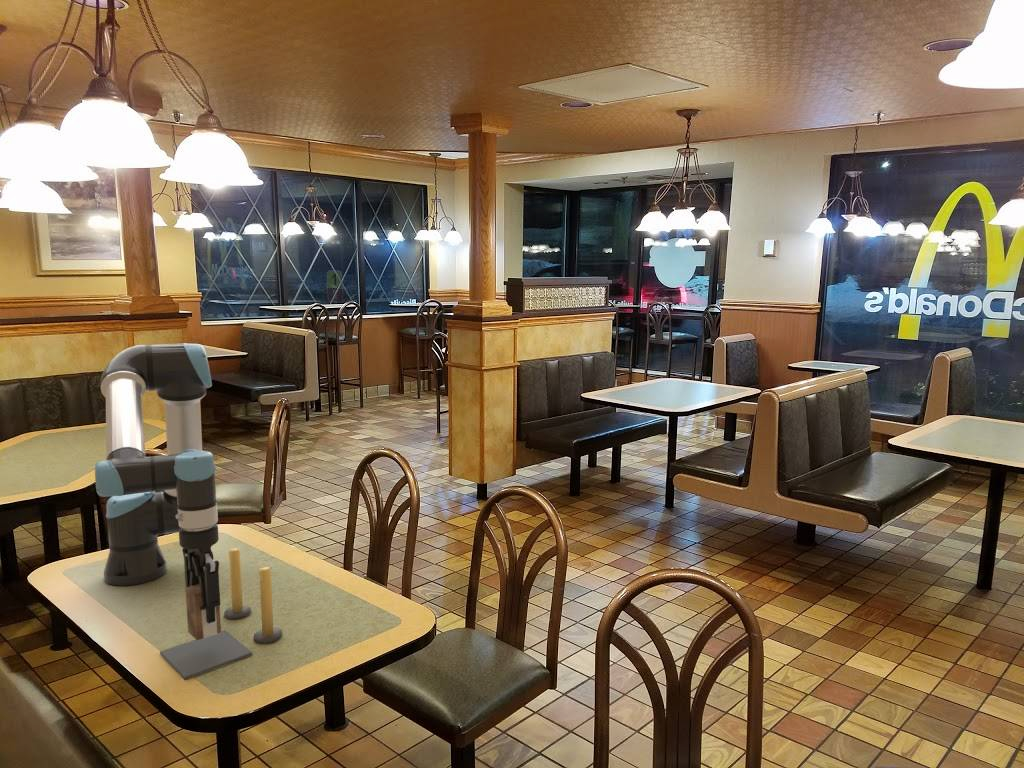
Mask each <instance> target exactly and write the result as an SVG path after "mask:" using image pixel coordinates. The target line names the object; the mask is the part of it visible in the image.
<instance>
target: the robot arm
mask: <svg viewBox="0 0 1024 768" xmlns="http://www.w3.org/2000/svg"><path fill="white" fill-rule="evenodd" d="M208 361H209V360H208V356H207V351H206V349H205V347H204V346H203V345H202V344H199V343H186V342H183V343H168V344H167V343H165V344H161V343H160V344H139V345H134V346H130V347H128V348H126V349H124V350H122V351H120V352H119V353H117V354H116V355H115V356H114V357H113V358H112V359H111V360H110V361H109V362H108V364H107V365H106V367H105V368H104V370H103V372H102V374H101V379H100V392H101V394H102V395H103V397H104V398H105V430H106V431H105V445H106V446H105V447H106V448H105V451H106V455H105V456H106V458H105V460H102V461H98V462H97V463H96V464H95V467H94V479H95V480H94V481H95V489H96V493H97V495H98V496H99V497H105V498H106V497H110V498H108V500H107V502H106V514H105V517H106V519H107V520H106V521H107V533H108V535H107V536H108V545H109V546H108V547H109V548H108V549H109V552H108V556H107V558H106V563H105V567H104V570H103V580H104V582H105V583H106V584H108V585H112V586H118V587H119V586H121V587H122V586H133V585H138V584H139V585H140V584H144V583H147V582H151V581H154V580H156V579H159V578H160V577H162V576H163V575H165V573H167V569H168V567H167V566H168V565H167V560H166V559H165V556H164V554H163V552H162V550H161V547H160V545H159V541H158V536H159V535H167V534H168V535H169V534H174V533H178V538H179V539H178V540H179V546H180V547H181V548H182V550H181V552H182V555H183V563H184V565H183V566H184V581H185V584H184V585H185V587H189V586H192V585H196V584H199V583H200V589H201V596H202V602H203V606H202V607H199V608H200V610H201V614H202V630H203V638H207V637H210V636H213V635H216V634H217V620H216V606H219V605H220V606H221V595H220V594H221V593H220V592H221V591H220V578H219V577H220V575H219V569H220V562H219V560H214V554H213V551H212V546H214V545H216V544H217V543H218V542H219V525H218V524H217V523H218V521H219V518H218V517H219V516H218V503H217V495H216V492H217V491H216V490H217V489H216V465H215V460H214V459H215V458H214V455H213V453H212V452H210V451H207V450H203V438H202V437H203V436H202V415H201V414H202V413H201V412H202V411H201V401H202V399H203V398H204V397H205V396H206V395H207V389H209V388H211V387H212V386H213V382H212V376H211V371H210V365H209V362H208ZM147 391H149V392H151V391H156V392H157V393H156V395H157V397H158V399H159V400H161V401H162V402H164V417H165V419H164V420H165V433H166V452H167V454H163V455H155V456H153V455H152V456H146V444H145V442H146V440H145V428H144V410H143V395H144V394H145V393H146V392H147Z"/></svg>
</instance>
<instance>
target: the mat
mask: <svg viewBox="0 0 1024 768" xmlns="http://www.w3.org/2000/svg"><path fill="white" fill-rule="evenodd" d="M159 653H160V656H161V657H163V659H164V660H165V661H166V662H167V663H168V664H169V665H170V666H171V667H172V668H173V670H175V671H176V673H178V675H179V676H181V678H182V679H183V680H184V681H185V680H188V679H190V678H193V677H196V676H199V675H202V674H205V673H207V672H210V671H212V670H215V669H218V668H220V667H223V666H225V665H229V664H231V663H234V662H237V661H240V660H242V659H245V658H247V657H251V656H252V655H253V652H252V650H250V649H249V648H247V647H246V646H245V645H244V644H243V643H242V642H241V641H239V639H238V638H236V637H235V636H233V635H232V634H231V633H230V632H228V631H227V630H226V629H224V630H223V629H221V633H218V634H216V635H213V636H210V637H207V638H203V639H200V640H196V639H194V640H193V639H192V640H190V641H187V642H184V643H180V644H178V645H174V646H171V647H169V648H166V649H163V650H160V651H159Z"/></svg>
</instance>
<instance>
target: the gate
mask: <svg viewBox="0 0 1024 768" xmlns="http://www.w3.org/2000/svg"><path fill="white" fill-rule="evenodd" d="M228 556H229V573H230V597H231V606H230V607H228V608H227V609H225V610H224V612H223V613H224V615H223V616H224V618H226V619H228V620H239V619H243V618H246V617H249V615H250V614H251V613H252V607H251V606H249V605H247V604H244V603H243V585H242V568H241V549H240V548H239V547H238V548H237V547H235V548H233V547H232V548H231V549H229V550H228ZM258 572H259V593H260V595H259V596H260V611H261V612H260V613H261V614H260V615H261V629H258V630H257V631H256V632H255V633H254V634H253V641H254V642H255V643H257V644H261V645H262V644H265V645H266V644H271V643H272V644H273V643H274V642H277V641H279V640H280V639H281V638H282V636H283V630H282V629H281V628H279V627H275V626H274V616H273V615H274V614H273V613H274V612H273V592H272V591H273V590H272V572H271V567H269V566H264V567H261V568H259V570H258Z"/></svg>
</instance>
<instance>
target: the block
mask: <svg viewBox="0 0 1024 768" xmlns="http://www.w3.org/2000/svg"><path fill="white" fill-rule="evenodd" d="M184 589H185V603H186V604H185V607H186V617H187V619H186V620H187V633H189V635H191V636H192V637H193V638H194V640H200V639H203V630H202V614H201V610H200V608H199V607H202V606H203V602H202V596H201V589H200V583H199V584H196V585H192V586H189V587H186V586H185V588H184ZM220 607H221V604H220V605H219V606H216V620H217V634H218V633H221V631H222V624H221V611H220V610H221V608H220Z"/></svg>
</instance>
